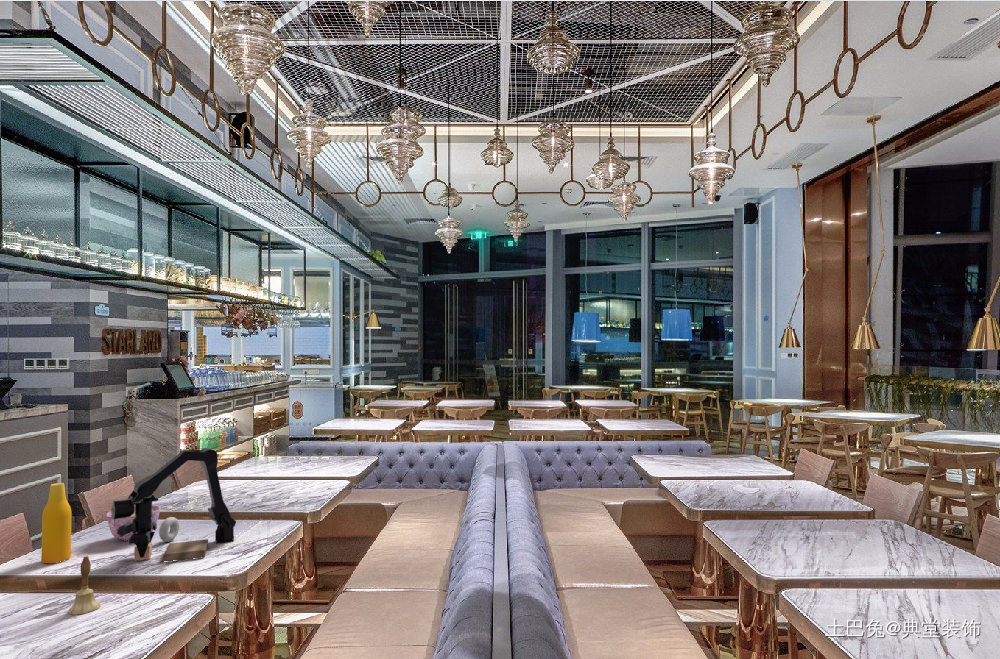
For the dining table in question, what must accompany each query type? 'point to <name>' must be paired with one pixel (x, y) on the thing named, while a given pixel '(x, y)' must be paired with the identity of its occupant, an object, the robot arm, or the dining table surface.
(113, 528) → the bowl of food
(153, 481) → the robot arm
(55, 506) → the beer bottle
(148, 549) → the terracotta block
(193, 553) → the walnut base
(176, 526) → the donut
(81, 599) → the hand bell
